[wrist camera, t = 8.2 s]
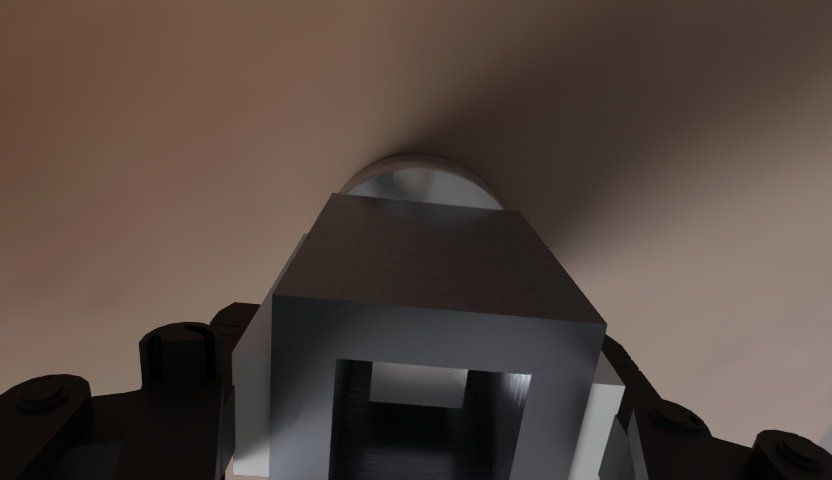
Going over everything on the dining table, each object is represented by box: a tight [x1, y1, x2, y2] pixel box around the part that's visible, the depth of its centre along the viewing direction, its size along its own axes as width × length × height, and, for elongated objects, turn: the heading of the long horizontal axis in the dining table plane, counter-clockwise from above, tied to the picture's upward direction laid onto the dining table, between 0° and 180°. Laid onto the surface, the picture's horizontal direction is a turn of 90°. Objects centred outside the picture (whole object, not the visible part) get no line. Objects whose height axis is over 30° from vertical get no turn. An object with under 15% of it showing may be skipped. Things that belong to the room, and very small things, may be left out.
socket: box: [269, 193, 607, 480], centre depth 13 cm, size 6×6×7 cm
